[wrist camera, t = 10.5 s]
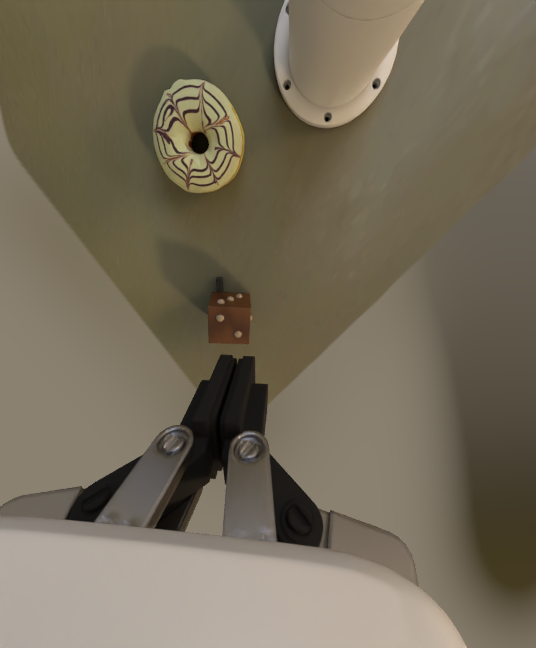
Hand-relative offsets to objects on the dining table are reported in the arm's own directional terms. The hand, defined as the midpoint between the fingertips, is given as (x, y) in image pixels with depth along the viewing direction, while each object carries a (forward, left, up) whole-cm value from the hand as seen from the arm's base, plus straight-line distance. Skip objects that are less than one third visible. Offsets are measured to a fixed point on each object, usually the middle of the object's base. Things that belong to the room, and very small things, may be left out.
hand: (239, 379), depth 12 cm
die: (+8, -9, -23) cm, 26 cm away
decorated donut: (-14, -9, -27) cm, 32 cm away
